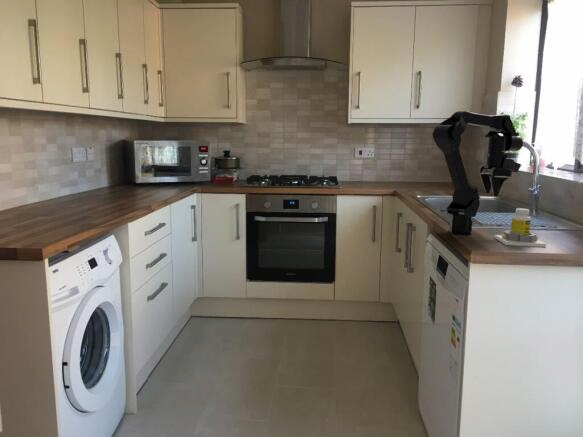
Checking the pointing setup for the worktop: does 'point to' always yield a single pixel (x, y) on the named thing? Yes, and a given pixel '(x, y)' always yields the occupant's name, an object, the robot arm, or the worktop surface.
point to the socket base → (520, 239)
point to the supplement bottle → (521, 222)
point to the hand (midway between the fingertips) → (491, 194)
